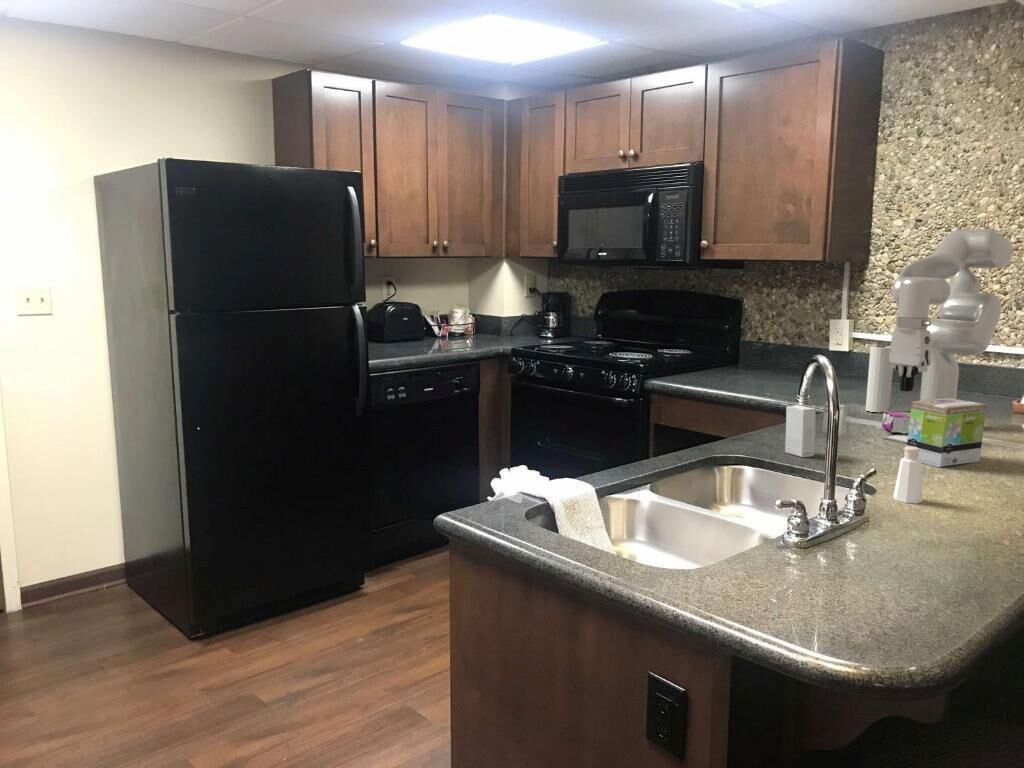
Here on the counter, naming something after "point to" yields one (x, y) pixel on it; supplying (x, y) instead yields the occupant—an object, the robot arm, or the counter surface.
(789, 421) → the skincare box
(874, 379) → the paper towel roll
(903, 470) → the pepper shaker
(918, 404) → the tea box
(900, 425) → the candy bar box
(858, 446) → the counter surface
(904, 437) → the mat
